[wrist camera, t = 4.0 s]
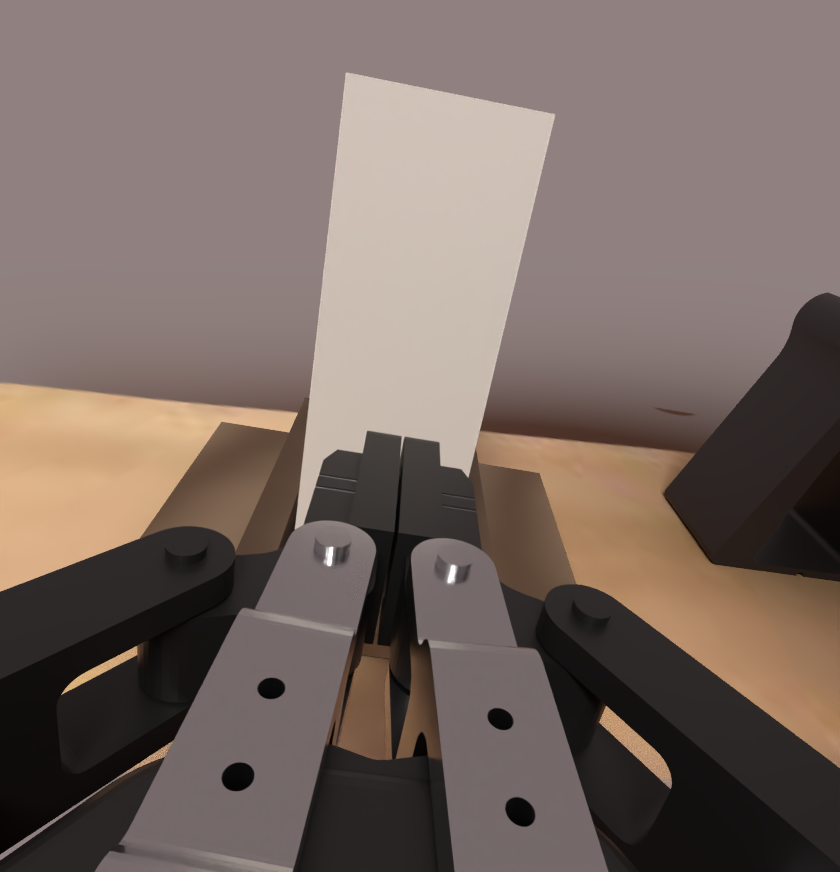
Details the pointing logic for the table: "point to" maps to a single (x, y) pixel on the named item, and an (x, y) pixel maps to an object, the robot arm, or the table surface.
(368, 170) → the cream block
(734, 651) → the table surface
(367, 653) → the ridged brown base plate
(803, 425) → the phone stand
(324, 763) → the robot arm
